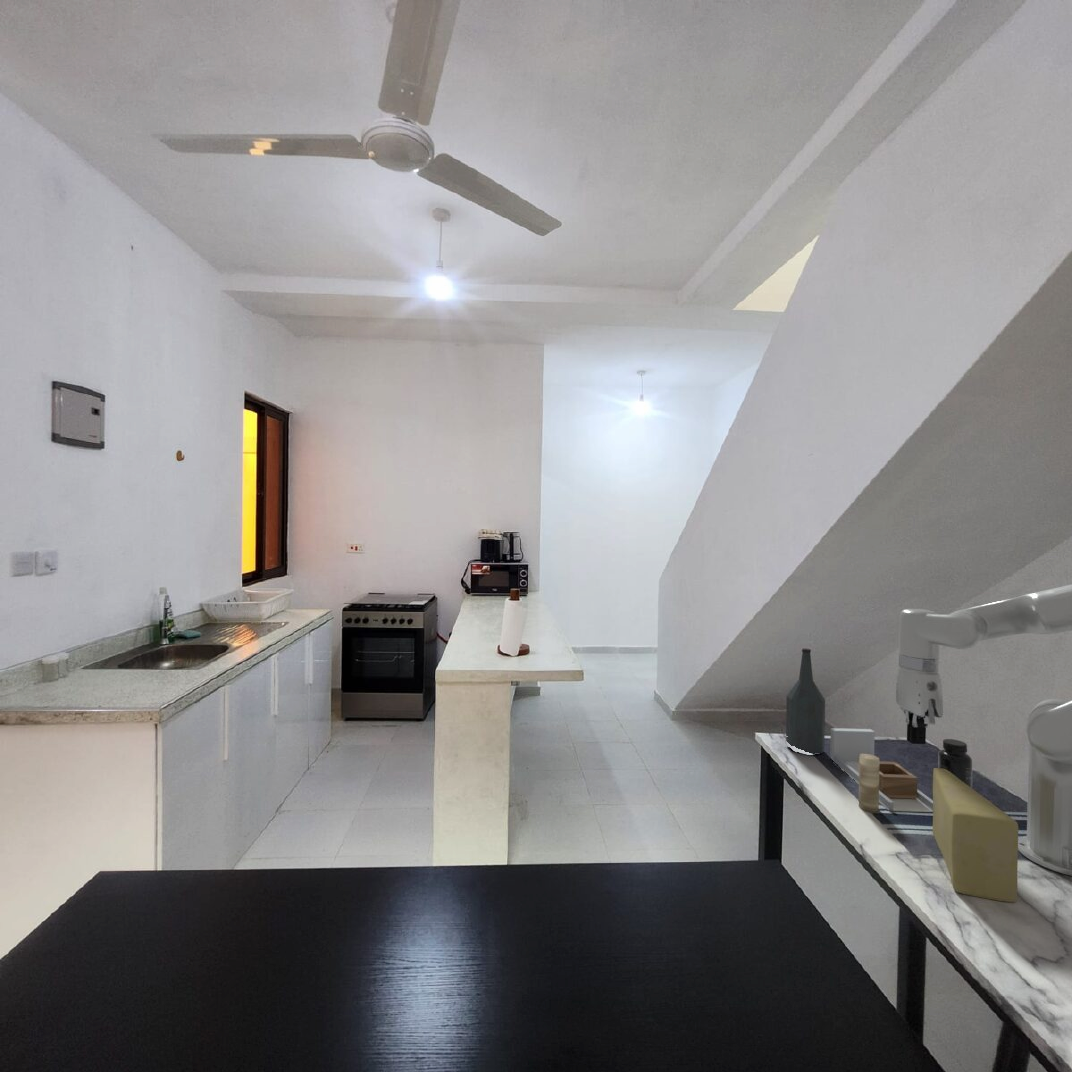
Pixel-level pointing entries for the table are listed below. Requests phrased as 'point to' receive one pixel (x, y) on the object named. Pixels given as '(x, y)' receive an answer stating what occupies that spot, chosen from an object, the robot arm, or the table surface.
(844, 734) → the track
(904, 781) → the brown wooden open box
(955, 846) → the cheese
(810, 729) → the bottle
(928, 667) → the robot arm
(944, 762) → the supplement bottle
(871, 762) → the dowel
